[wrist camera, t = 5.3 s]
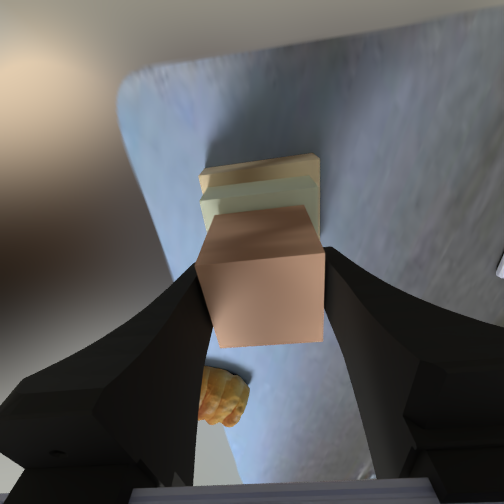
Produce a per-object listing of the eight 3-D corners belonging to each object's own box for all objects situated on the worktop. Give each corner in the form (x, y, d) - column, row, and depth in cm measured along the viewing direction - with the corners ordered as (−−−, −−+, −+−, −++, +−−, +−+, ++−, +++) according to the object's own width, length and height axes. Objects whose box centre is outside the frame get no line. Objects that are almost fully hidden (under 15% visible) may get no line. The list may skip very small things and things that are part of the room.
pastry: (158, 382, 29) (145, 417, 25) (178, 348, 26) (167, 384, 22) (229, 404, 31) (226, 439, 28) (256, 375, 28) (256, 411, 25)
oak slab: (311, 151, 16) (320, 158, 14) (312, 245, 19) (319, 262, 17) (205, 166, 16) (198, 175, 14) (225, 255, 20) (222, 273, 18)
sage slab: (308, 175, 14) (318, 186, 12) (309, 261, 17) (317, 283, 15) (207, 187, 15) (199, 201, 12) (225, 269, 18) (221, 292, 15)
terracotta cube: (304, 204, 12) (325, 252, 8) (305, 277, 14) (322, 341, 10) (214, 215, 12) (194, 265, 9) (230, 284, 15) (220, 348, 11)
